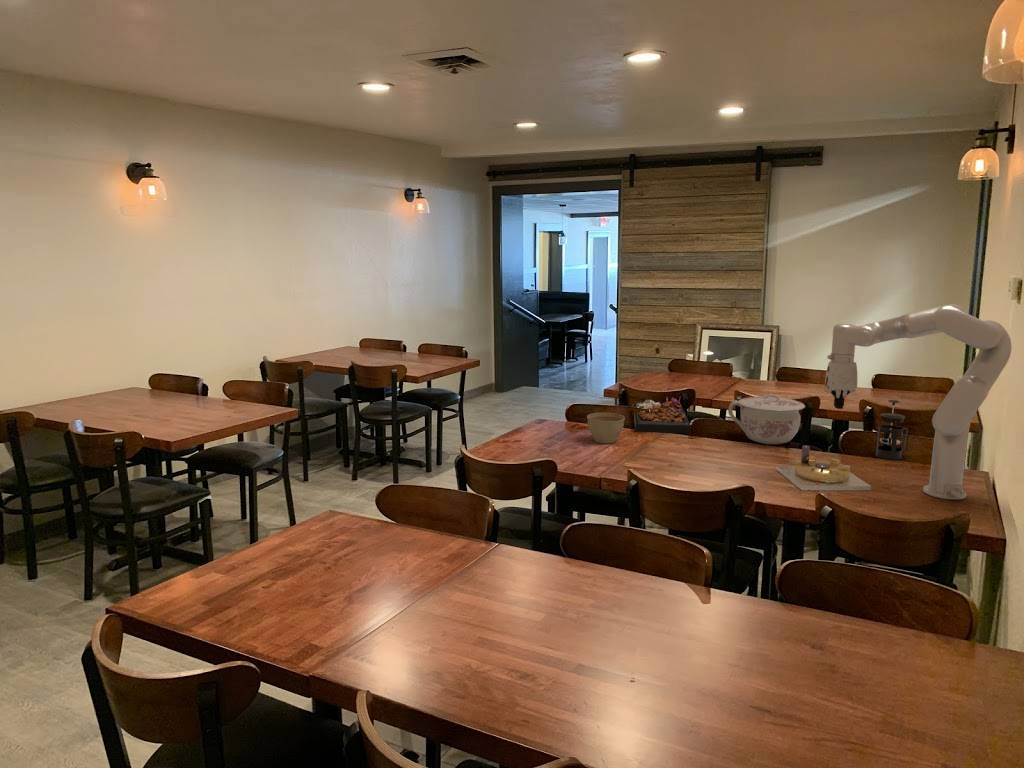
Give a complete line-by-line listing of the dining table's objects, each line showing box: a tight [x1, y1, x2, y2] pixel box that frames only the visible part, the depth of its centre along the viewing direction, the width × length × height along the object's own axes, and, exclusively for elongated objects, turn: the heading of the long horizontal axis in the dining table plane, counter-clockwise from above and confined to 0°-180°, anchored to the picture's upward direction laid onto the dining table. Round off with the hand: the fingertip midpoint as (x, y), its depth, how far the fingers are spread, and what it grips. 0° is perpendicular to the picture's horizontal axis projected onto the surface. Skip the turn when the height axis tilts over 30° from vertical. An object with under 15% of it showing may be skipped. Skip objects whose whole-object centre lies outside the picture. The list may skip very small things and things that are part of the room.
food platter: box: [631, 396, 692, 435], centre depth 347 cm, size 45×25×10 cm, turn 173°
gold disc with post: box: [794, 444, 851, 483], centre depth 259 cm, size 18×18×9 cm
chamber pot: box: [727, 393, 806, 446], centre depth 311 cm, size 28×28×21 cm
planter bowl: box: [586, 412, 626, 444], centre depth 311 cm, size 16×16×11 cm
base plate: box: [775, 465, 872, 492], centre depth 260 cm, size 24×24×2 cm
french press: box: [875, 399, 910, 461], centre depth 286 cm, size 12×9×23 cm
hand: (838, 408), depth 262 cm, fingers closed
